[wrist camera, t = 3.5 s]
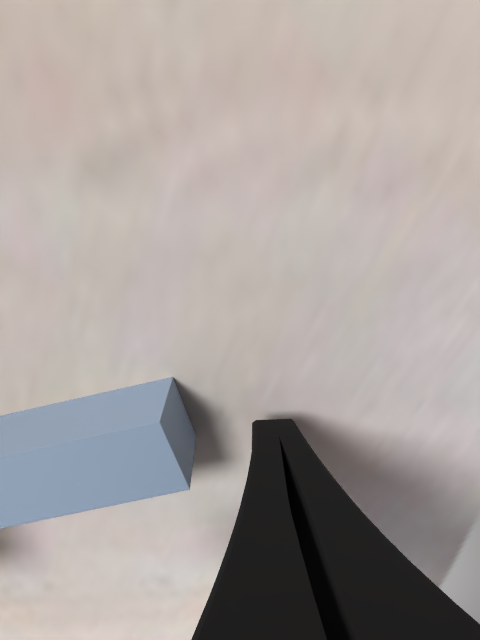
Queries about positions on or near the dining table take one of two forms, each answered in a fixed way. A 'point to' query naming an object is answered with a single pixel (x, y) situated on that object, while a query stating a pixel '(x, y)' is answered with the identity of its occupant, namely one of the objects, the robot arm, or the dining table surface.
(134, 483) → the blue stepped bar
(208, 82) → the dining table surface
